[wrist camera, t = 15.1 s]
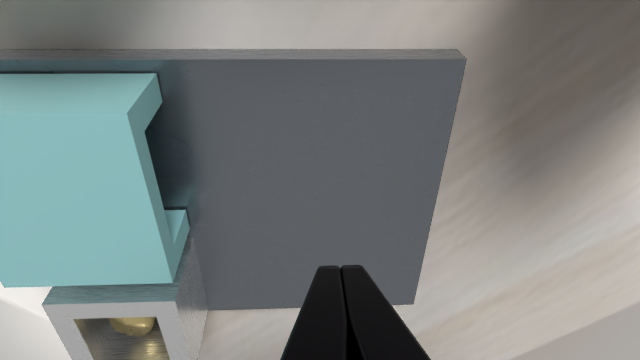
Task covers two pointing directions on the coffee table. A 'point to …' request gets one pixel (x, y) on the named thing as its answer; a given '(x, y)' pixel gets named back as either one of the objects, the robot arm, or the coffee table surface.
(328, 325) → the robot arm
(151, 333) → the hollow square metal block
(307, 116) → the metal cubes
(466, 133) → the coffee table surface
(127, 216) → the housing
